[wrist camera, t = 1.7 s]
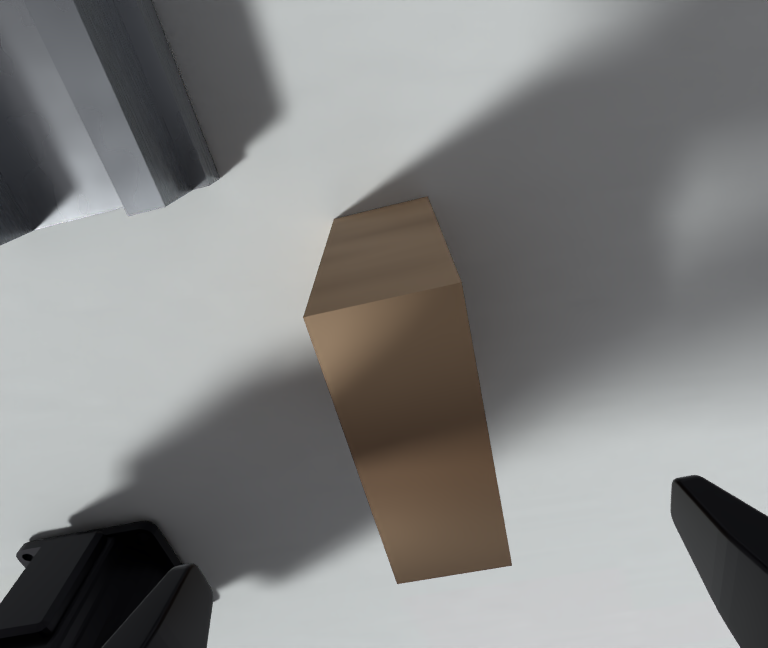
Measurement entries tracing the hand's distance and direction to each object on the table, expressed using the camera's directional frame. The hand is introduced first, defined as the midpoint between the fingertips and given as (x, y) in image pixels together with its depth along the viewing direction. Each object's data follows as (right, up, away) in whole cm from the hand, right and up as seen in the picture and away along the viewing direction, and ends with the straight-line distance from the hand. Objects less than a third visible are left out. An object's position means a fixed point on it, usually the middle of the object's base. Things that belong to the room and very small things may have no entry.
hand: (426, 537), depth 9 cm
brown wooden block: (0, +4, +8) cm, 9 cm away
